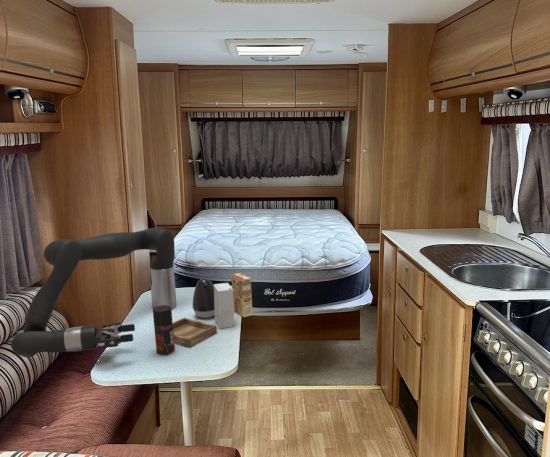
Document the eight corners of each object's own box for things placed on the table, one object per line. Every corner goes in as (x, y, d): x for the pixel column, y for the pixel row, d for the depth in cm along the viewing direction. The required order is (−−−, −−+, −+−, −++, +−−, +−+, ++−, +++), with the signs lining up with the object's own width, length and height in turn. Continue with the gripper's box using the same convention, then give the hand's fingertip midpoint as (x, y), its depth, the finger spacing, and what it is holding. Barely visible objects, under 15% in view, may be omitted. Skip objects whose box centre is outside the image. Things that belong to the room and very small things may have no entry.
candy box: (253, 315, 198) (251, 277, 195) (243, 317, 196) (241, 279, 193) (241, 309, 205) (239, 272, 202) (232, 311, 203) (230, 274, 200)
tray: (156, 337, 180) (155, 330, 180) (184, 324, 191) (184, 317, 191) (189, 347, 171) (188, 339, 170) (216, 333, 182) (216, 325, 182)
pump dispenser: (195, 322, 193) (192, 283, 190) (191, 313, 203) (189, 276, 200) (221, 318, 196) (219, 280, 193) (217, 309, 206) (214, 273, 203)
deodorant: (159, 347, 172) (155, 305, 169) (176, 347, 172) (173, 305, 169) (154, 355, 166) (150, 312, 163) (172, 355, 166) (168, 311, 163)
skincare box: (214, 321, 193) (212, 284, 190) (230, 319, 195) (227, 281, 192) (219, 329, 185) (217, 290, 183) (235, 326, 187) (233, 288, 184)
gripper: (76, 336, 155) (131, 329, 158) (83, 319, 169) (134, 313, 172) (79, 358, 156) (133, 352, 160) (86, 340, 170) (136, 334, 173)
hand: (133, 332), depth 166 cm, fingers open, 8 cm apart
